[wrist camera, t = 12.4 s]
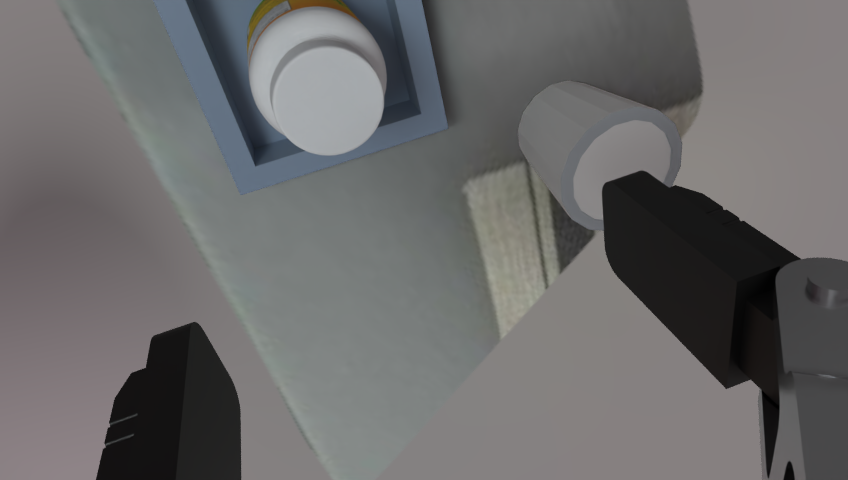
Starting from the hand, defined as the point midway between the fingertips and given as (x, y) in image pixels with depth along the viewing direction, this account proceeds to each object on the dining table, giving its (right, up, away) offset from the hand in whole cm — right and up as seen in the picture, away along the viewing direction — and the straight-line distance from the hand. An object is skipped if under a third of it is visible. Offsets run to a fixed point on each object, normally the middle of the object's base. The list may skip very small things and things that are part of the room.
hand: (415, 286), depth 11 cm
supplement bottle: (-6, +11, +18) cm, 22 cm away
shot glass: (+8, +8, +25) cm, 27 cm away
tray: (-6, +11, +18) cm, 22 cm away
